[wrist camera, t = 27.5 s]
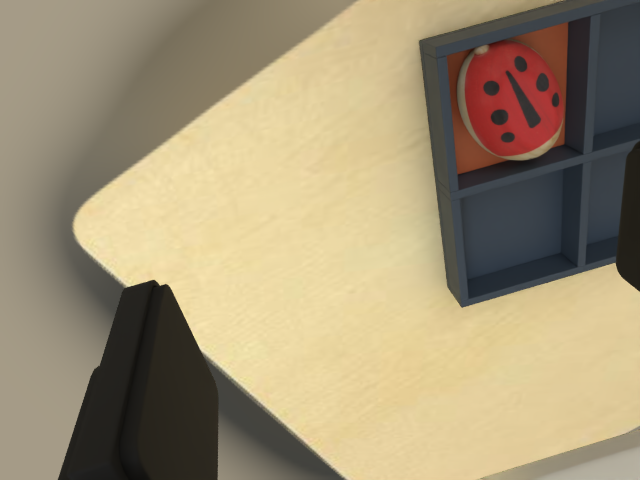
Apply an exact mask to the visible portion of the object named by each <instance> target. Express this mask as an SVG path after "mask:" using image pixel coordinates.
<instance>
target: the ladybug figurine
mask: <svg viewBox="0 0 640 480" xmlns="http://www.w3.org/2000/svg"><path fill="white" fill-rule="evenodd" d="M457 102H458V107H459V111H460V114H461V117H462V120H463V122H464V124H465V126H466V128H467V130H468V132H469V133H470V135H471V136H472V137H473V139H474V140H475V141H476V142H477V143H478V144H479V145H480V146H481V147H482V148H484V149H485V150H486V151H488V152H489V153H491V154H493V155H496V156H498V157H501V158H504V159H509V160H529V159H533V158H536V157H539V156H541V155H542V154H544V153H545V152H547V151H548V150H549V149H550V148H551V147H552V146H553V145H554V143H555V142H556V141H557V139H558V137H559V134H560V131H561V127H562V123H563V112H564V108H563V99H562V95H561V91H560V88H559V85H558V82H557V80H556V77H555V75H554V74H553V72H552V70H551V69H550V67H549V66H548V64H547V63H546V61H545V60H544V59H543V58H542V56H541V55H540V54H539V53H538V52H537V51H535V50H534V49H533V48H532V47H530V46H529V45H527V44H525V43H523V42H521V41H518V40H514V39H509V38H508V39H505V40H501V41H498V42H494V43H490V44H487V45H483V46H480V47H476V48H475V49H474V50H473V51H471V53H470V54H469V55H468V56H467V58H466V59H465V61H464V62H463V65H462V67H461V69H460V72H459V76H458V81H457Z"/></svg>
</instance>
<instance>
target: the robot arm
mask: <svg viewBox="0 0 640 480" xmlns="http://www.w3.org/2000/svg"><path fill="white" fill-rule="evenodd" d="M616 267H617V270H618V272H619V274H620V275H621V277H622V278H623V279H624V280H626V281H627V282H628V283H630V284H631V285H632V286H633V287H635V288H636V289H637V290H638V291H640V141H639V142H637V143H636V144H635V145H634V147H633V149H632V151H631V152H629V153H628V155H627V158H626V164H625V174H624V184H623V194H622V204H621V214H620V224H619V234H618V244H617V254H616ZM217 471H218V390H217V387H216V383H215V380H214V378H213V376H212V374H211V372H210V370H209V367H208V365H207V363H206V361H205V359H204V357H203V355H202V353H201V351H200V349H199V347H198V344H197V342H196V340H195V338H194V336H193V334H192V332H191V330H190V328H189V326H188V324H187V321H186V319H185V317H184V315H183V313H182V311H181V309H180V307H179V305H178V303H177V301H176V298H175V296H174V294H173V292H172V290H171V288H170V287H169V286H168V285H167V284H165V285H161V286H160V285H159V284H158V283H157V282H156V281H155V280H151V281H148V282H144V283H141V284H137V285H134V286H130V287H127V288H125V289H124V290H123V292H122V295H121V298H120V302H119V305H118V308H117V312H116V314H115V318H114V321H113V324H112V328H111V331H110V335H109V338H108V341H107V344H106V347H105V350H104V354H103V357H102V360H101V363H100V366H98V367H97V368H96V369H94V371H93V373H92V375H91V378H90V381H89V384H88V387H87V391H86V393H85V397H84V400H83V403H82V406H81V409H80V412H79V415H78V418H77V422H76V425H75V428H74V431H73V434H72V437H71V441H70V444H69V447H68V450H67V453H66V456H65V460H64V463H63V465H62V469H61V472H60V475H59V478H58V480H217V477H218V472H217ZM477 480H640V429H639V430H636V431H633V432H629V433H626V434H623V435H620V436H616V437H613V438H610V439H607V440H603V441H600V442H597V443H594V444H590V445H587V446H584V447H580V448H577V449H574V450H571V451H567V452H564V453H561V454H558V455H554V456H551V457H548V458H545V459H541V460H538V461H535V462H532V463H528V464H525V465H522V466H519V467H515V468H512V469H509V470H506V471H503V472H499V473H496V474H493V475H490V476H487V477H483V478H480V479H477Z"/></svg>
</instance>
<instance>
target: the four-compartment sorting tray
mask: <svg viewBox="0 0 640 480" xmlns="http://www.w3.org/2000/svg"><path fill="white" fill-rule="evenodd" d="M508 38H509V39H514V40H518V41H521V42H523V43H525V44H527V45H529V46H530V47H532V48H533V49H534V50H535V51H537V52H538V53H539V54H540V55H541V56H542V58H543V59H544V60H545V61H546V63H547V64H548V66H549V67H550V69H551V70H552V72H553V74H554V75H555V77H556V80H557V82H558V85H559V88H560V91H561V95H562V99H563V108H564V112H563V123H562V127H561V131H560V134H559V137H558V139H557V141H556V142H555V143H554V145H553V146H552V147H551V148H550V149H549V150H548V151H547V152H545V153H544V154H542V155H541V156H539V157H536V158H533V159H529V160H509V159H504V158H501V157H498V156H496V155H493V154H491V153H489V152H488V151H486V150H485V149H484V148H482V147H481V146H480V145H479V144H478V143H477V142H476V141H475V140H474V139H473V137H472V136H471V135H470V133H469V132H468V130H467V128H466V126H465V124H464V122H463V120H462V117H461V114H460V111H459V107H458V102H457V81H458V76H459V72H460V69H461V67H462V65H463V62H464V61H465V59H466V58H467V56H468V55H469V54H470V53H471V51H473V50H474V49H475V48H476V47H480V46H483V45H487V44H490V43H494V42H498V41H501V40H505V39H508ZM419 44H420V53H421V61H422V70H423V79H424V87H425V96H426V105H427V113H428V122H429V130H430V139H431V148H432V156H433V165H434V174H435V182H436V191H437V200H438V208H439V217H440V225H441V234H442V243H443V251H444V260H445V269H446V277H447V286H448V288H449V290H450V291H451V293H452V294H453V296H454V297H455V299H456V300H457V301H458V303H459V304H460V306H461V307H462V308H463V307H466V306H469V305H473V304H476V303H480V302H483V301H486V300H490V299H493V298H497V297H500V296H503V295H507V294H510V293H514V292H517V291H520V290H524V289H527V288H531V287H534V286H537V285H541V284H544V283H548V282H551V281H554V280H558V279H561V278H565V277H568V276H571V275H575V274H578V273H582V272H585V271H588V270H592V269H595V268H599V267H602V266H605V265H609V264H612V263H616V254H617V244H618V234H619V224H620V214H621V204H622V194H623V184H624V174H625V164H626V158H627V155H628V153H629V152H631V151H632V149H633V147H634V145H635V144H636V143H637V142H639V141H640V0H565V1H561V2H558V3H554V4H550V5H547V6H543V7H539V8H536V9H532V10H528V11H525V12H521V13H517V14H514V15H510V16H507V17H503V18H499V19H496V20H492V21H488V22H485V23H481V24H477V25H474V26H470V27H467V28H463V29H459V30H456V31H452V32H448V33H445V34H441V35H437V36H434V37H430V38H427V39H423V40H420V41H419Z"/></svg>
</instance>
